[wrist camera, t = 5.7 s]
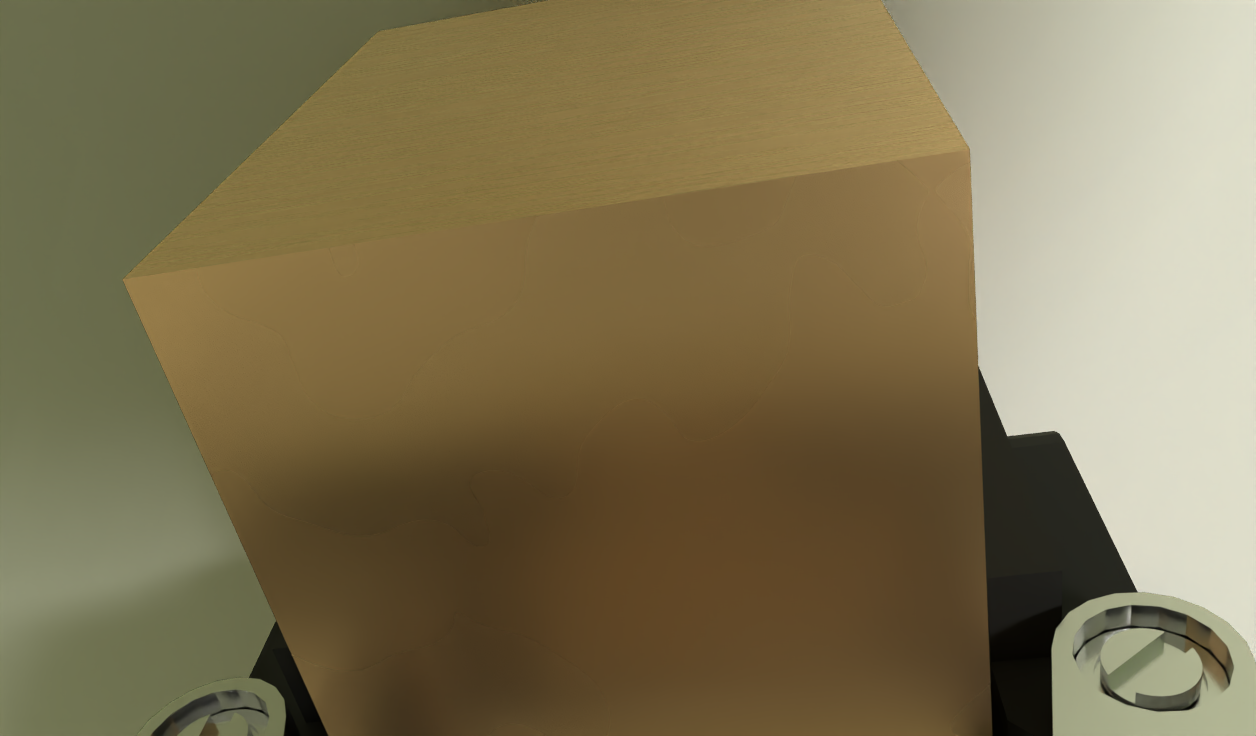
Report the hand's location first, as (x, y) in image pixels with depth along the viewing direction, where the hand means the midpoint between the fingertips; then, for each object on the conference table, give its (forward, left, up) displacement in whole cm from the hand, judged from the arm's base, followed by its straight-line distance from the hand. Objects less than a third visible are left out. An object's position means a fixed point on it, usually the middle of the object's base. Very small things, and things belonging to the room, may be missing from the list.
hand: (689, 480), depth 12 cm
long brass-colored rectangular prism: (+5, 0, -1) cm, 5 cm away
